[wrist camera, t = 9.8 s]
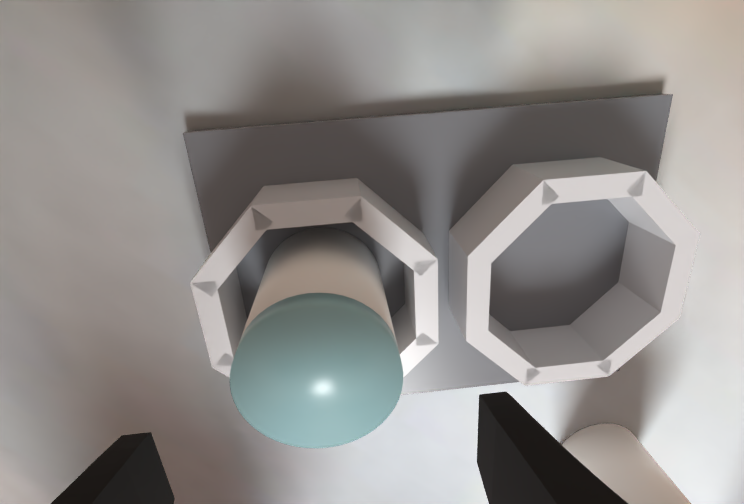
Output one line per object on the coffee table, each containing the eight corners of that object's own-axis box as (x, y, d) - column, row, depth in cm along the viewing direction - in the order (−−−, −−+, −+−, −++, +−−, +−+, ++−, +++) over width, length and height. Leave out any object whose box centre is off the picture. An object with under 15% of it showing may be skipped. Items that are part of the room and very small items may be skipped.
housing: (250, 403, 19) (236, 458, 16) (187, 131, 15) (153, 144, 12) (612, 363, 20) (657, 409, 17) (662, 93, 15) (734, 97, 13)
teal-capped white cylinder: (274, 336, 17) (246, 457, 12) (255, 233, 16) (212, 318, 10) (383, 325, 18) (406, 437, 12) (376, 222, 16) (399, 298, 10)
